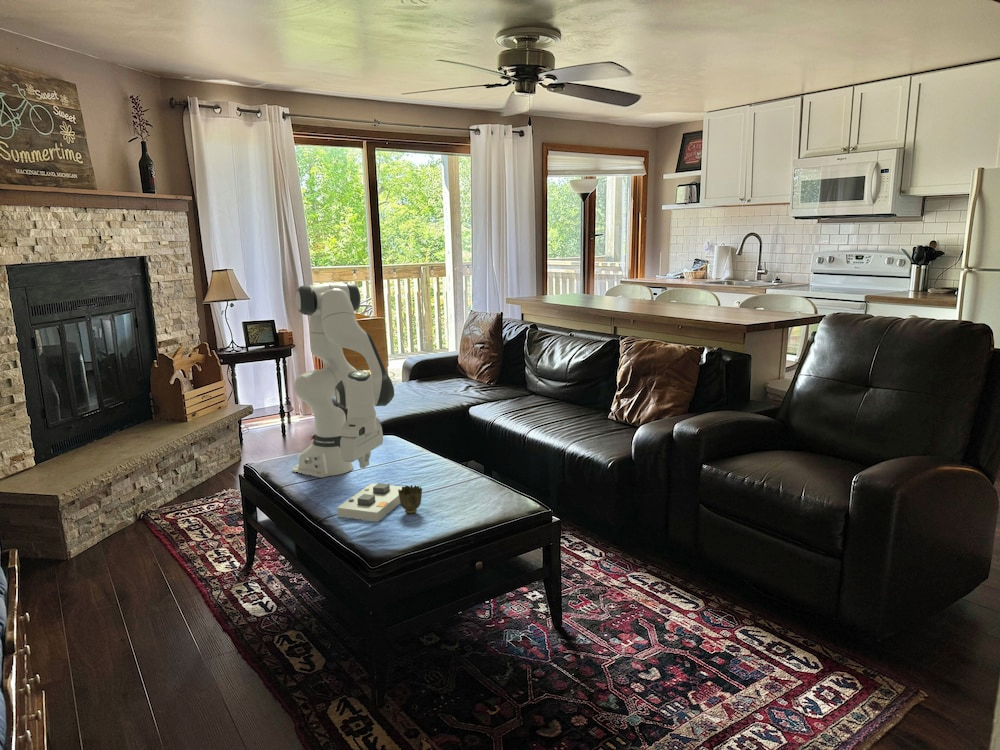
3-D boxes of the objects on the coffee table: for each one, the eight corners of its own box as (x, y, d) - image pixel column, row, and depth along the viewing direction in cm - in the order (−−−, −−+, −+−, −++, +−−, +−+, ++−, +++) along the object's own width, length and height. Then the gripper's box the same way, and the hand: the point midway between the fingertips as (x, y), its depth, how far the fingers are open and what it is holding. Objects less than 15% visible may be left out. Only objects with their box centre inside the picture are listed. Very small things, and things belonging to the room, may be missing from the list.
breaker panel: (337, 516, 206) (337, 506, 205) (372, 491, 226) (371, 482, 225) (377, 521, 201) (377, 511, 201) (409, 495, 222) (408, 486, 221)
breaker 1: (358, 508, 207) (357, 498, 207) (364, 503, 211) (363, 493, 210) (369, 509, 206) (368, 499, 206) (375, 504, 210) (374, 495, 209)
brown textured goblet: (409, 506, 213) (408, 483, 211) (427, 511, 209) (426, 487, 207) (394, 514, 206) (393, 490, 205) (413, 519, 203) (412, 495, 201)
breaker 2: (373, 496, 217) (372, 487, 216) (379, 492, 220) (378, 483, 220) (384, 497, 215) (383, 488, 215) (390, 493, 219) (389, 484, 219)
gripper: (369, 415, 214) (371, 455, 217) (335, 432, 195) (338, 476, 198) (386, 416, 212) (388, 457, 215) (354, 433, 193) (356, 478, 196)
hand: (364, 466), depth 206 cm, fingers closed
